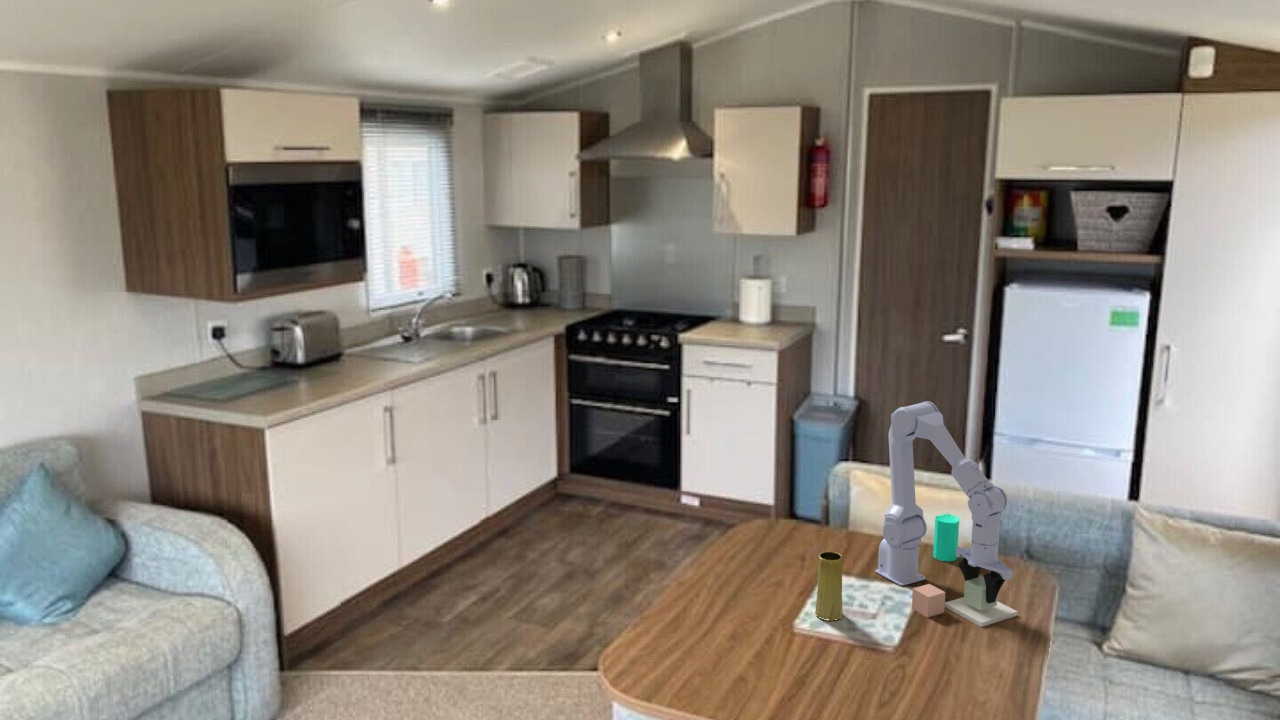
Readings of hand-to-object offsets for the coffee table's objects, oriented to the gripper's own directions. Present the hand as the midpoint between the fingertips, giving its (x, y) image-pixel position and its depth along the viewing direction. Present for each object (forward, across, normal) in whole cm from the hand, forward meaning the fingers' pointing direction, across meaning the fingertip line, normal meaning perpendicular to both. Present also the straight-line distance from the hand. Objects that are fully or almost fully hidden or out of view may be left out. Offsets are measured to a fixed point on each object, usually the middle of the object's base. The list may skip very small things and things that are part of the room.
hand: (981, 597), depth 216 cm
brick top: (+3, -6, -10) cm, 12 cm away
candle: (+4, -26, +15) cm, 30 cm away
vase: (+4, -15, -31) cm, 35 cm away
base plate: (+3, 0, 0) cm, 3 cm away
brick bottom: (+2, 0, 0) cm, 2 cm away
